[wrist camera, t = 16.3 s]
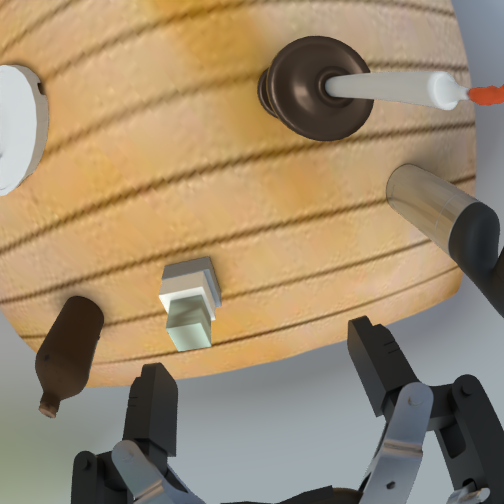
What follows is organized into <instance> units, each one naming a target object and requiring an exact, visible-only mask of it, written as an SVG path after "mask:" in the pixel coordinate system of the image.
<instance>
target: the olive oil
mask: <svg viewBox="0 0 504 504" xmlns="http://www.w3.org/2000/svg"><path fill="white" fill-rule="evenodd" d="M103 323H104V317H103V314H102V312H101V310H100V309H99V307H98V306H97V305H96V304H95V303H93V302H92V301H90V300H88V299H86V298H83V297H78V296H76V297H71V298H70V299H68V300H67V302H66V303H65V305H64V307H63V308H62V310H61V312H60V314H59V315H58V317H57V319H56V321H55V322H54V324H53V326H52V327H51V329H50V331H49V333H48V334H47V336H46V338H45V340H44V341H43V343H42V345H41V347H40V349H39V351H38V353H37V355H36V361H35V369H36V373H37V376H38V378H39V381H40V383H41V386H42V388H43V391H44V393H43V395H42V398H41V401H40V406H39V411H40V412H41V413H42V414H44V415H46V416H48V417H50V418H55V417H56V412H58V409H59V405H60V401H61V400H64V399H66V398H69V397H72V396H75V395H77V394H79V393H80V392H81V391H82V390H83V389H84V387H85V386H86V384H87V381H88V378H89V373H90V369H91V365H92V361H93V357H94V353H95V349H96V346H97V342H98V340H99V338H100V336H99V335H100V332H101V329H102V326H103Z"/></svg>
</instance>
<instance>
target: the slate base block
mask: <svg viewBox="0 0 504 504" xmlns="http://www.w3.org/2000/svg"><path fill="white" fill-rule="evenodd" d="M200 271H204V274H205V277H206V280H207V282H208V285H209V288H210V291H211V293H212V296H213V299H214V301H215V307H219V306H222V305H221V291H220V288H219V285H218V282H217V279H216V276H215V273H214V270H213V267H212V264H211V260H210V257H209V256H208V257H204V258H200V259H195V260H191V261H186V262H182V263H177V264H173V265H168V266H165V268H164V272H163V276H162V280H165V279H169V278H173V277H178V276H182V275H187V274H191V273H196V272H200Z"/></svg>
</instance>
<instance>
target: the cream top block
mask: <svg viewBox="0 0 504 504" xmlns="http://www.w3.org/2000/svg"><path fill="white" fill-rule="evenodd" d="M201 294H202V296H203V299H204V302H205V304H206V307H207V309H208V312H209V314H210V317H211V321H212V320H216V315H215V301H214V299H213V296H212V293H211V291H210V288H209V285H208V282H207V280H206V277H205V274H204V271H200V272H196V273H191V274H187V275H182V276H178V277H173V278H169V279H165V280H162V284H161V288H160V292H159V297H160V299H161V301H162V303H163V305H164V307H165V309H166V311H167V313H168V312H169V306H170V300H175V299H181V298H186V297H191V296H196V295H201Z"/></svg>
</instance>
